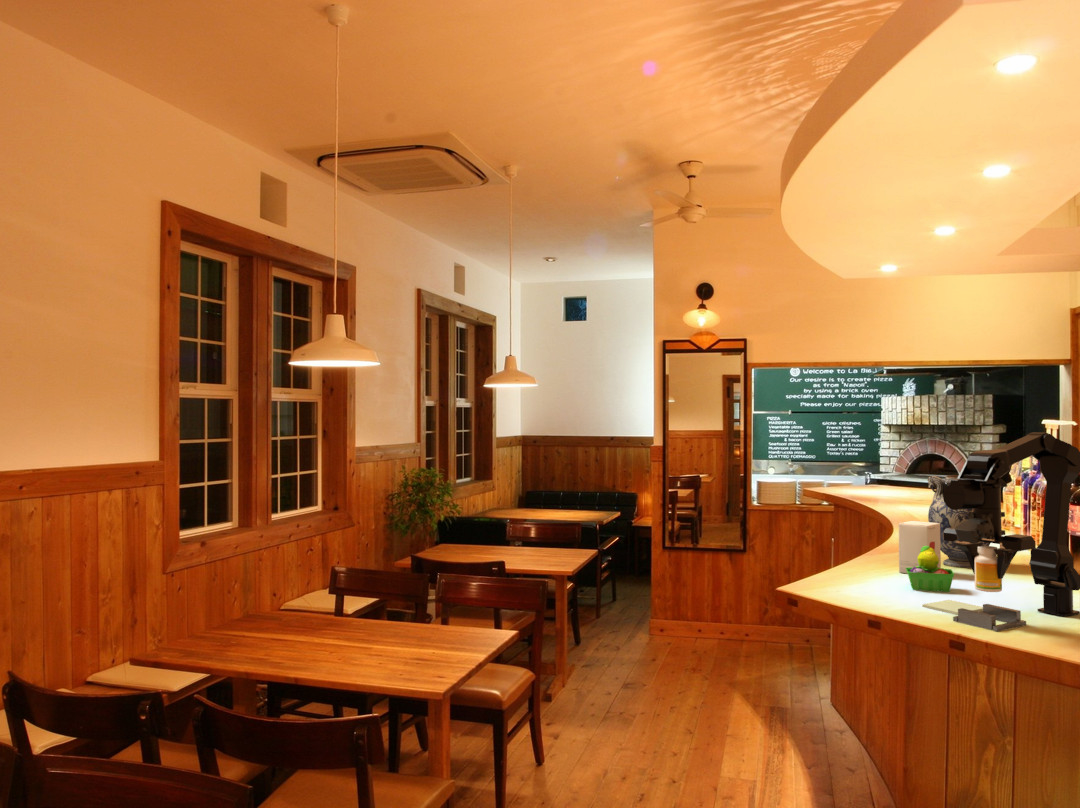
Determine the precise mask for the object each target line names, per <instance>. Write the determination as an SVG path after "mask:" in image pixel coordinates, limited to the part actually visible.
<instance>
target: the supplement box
mask: <svg viewBox="0 0 1080 808" xmlns="http://www.w3.org/2000/svg"><path fill="white" fill-rule="evenodd" d="M923 546H929V547H930V548H932V549H934V551H935V553H936V555H937V556H938V558H939V563H938V565H937V567H938V568H942V567H941V566H942V565H941V561H942V560H941V559H942V558H941V556H942V555H941V553H942V552H941V550H940V523H932V522H929V521H920V520H908V521H904V522H899V523H898V572H899V573H900V574H901V573H902V574H906V575H908V573H907V571H906V568H913V567H916V566H919V564H918V560H917V558H918V555H919V554H920V553H921V552H920V551H921V548H922V547H923Z"/></svg>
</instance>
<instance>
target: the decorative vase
mask: <svg viewBox="0 0 1080 808" xmlns="http://www.w3.org/2000/svg"><path fill="white" fill-rule="evenodd" d="M958 476H959V474H949V475H946V476H945V478H944V479H942V478H940V477H939V476H938V475H932V476H928V478H927V484H928V489H931V490H932V492H934V494H933V496H932V501H931V504H930V505H929V508H928V515H927V519H928V521H927V522H932V523H940V552H941V553H943V554H944V555H945V556H946V557H947V558H946V559H945V560H943V561H942V564H943V565H944V566H947V567H953V568H961V569H972V568H971V565H970V563H969V560H968V558H967V556H966V554H965V552H964V551H963V550H962V549H961V548H960V547H959V546H956V545H955V543H957V540H956V541H955V542H953V541H946V540H943V532H944V530H945V529H946V528H952V527H956V526H958V525H959V524H961V523H962V522H964V521H967V520H968V514H969V512H972V511H973V510H972V509H962V510H952V509H950V508H949V507H947V505H946V504H945V502H944V500H943V493H944V491H945V489H946V488H947V486H949V485H951V479H957V478H958ZM980 543H982V545H981V546H991V543H988V542H981V541H980Z"/></svg>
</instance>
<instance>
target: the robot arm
mask: <svg viewBox="0 0 1080 808" xmlns="http://www.w3.org/2000/svg"><path fill="white" fill-rule="evenodd" d="M1030 457H1032V458H1035V460H1036V461H1038V462H1039V471H1040V472H1041V474H1042V476H1043V478H1044V480H1045V481H1046V482H1045V483H1046V484H1045V485H1046V487H1045V497H1044V499H1045V500H1044V509H1043V510H1044V512H1043V524H1042V534H1041V542H1040V543H1039V545H1038V546H1037V547H1036V541H1035V539H1034V538H1033V536H1032V535H1026V534H1020V533H1019V534H1017V533H1014V534H1008V535H1007V534H1006V530H1005V529H1002V518H1004V517H1006V512H1005V511H1002V494H1001V491H1002V490H1001V489H1002V488H1007V487H1008V483H1006V482H1005V481H1004V480H1003V479H1002V477H1003V476H1005V475H1006V474H1008V472H1010V470H1011V467H1012V466H1013V465H1014V464H1017V463H1019V462H1021V461H1023V460H1025V459H1028V458H1030ZM958 475H959V476H958V478H957V479H951V485H949V486H947V485H946V489H945V491H944V493H943V500H944V502H945V504H946V505H947V507H949V508H950V509H952V510H962V509H972V510H973V511H972V512H969V514H968V520H967V521H964V522H962V523H961V524H959V525H958V526H956V527H952V528H946V529H945V530H944V532H943V540H946V541H953V542H955V541H956V540H957V543H955V545H956V546H959V547H960V548H961V549H962V550H963V551H964V552H965V554H966V556H967V558H968V560H969V563H970V565H971V568H970V569H971V570H972V572H973V573H972V574H973V575H975V566H974V559H975V557H976V556H978V555H979V553H978V551H977V550H978V546H981V545H982V543H980V541H981V542H988V543H990V544H995V545H996V544H997V545H999V547H997V549H994V551H995V553H996V555H997V574H998V579H1002V580H1003V578H1004V576H1005V574H1006V573H1007V570H1008V568H1009V566H1010V565H1011V563H1012V560H1013V559H1014V558H1015V557H1016V554H1017V553H1018V552H1021V551H1029V550H1030V561H1029V563H1028V565H1029V567H1030V572H1031V576H1032V578H1033V581H1034V585H1041V586H1043V587H1042V588H1043V594H1042V599H1043V601H1042V602H1043V607H1040V608H1037V611H1038V612H1042V613H1045V614H1051V615H1055V616H1060V617H1069V616H1074V615H1078V614H1080V610H1075V609H1074V591H1080V574H1079V572H1078V571H1077V570H1076V568H1075V567H1074V566H1075V565H1074V564H1075V563H1074V556H1073V555H1072V553H1071V551H1070V548H1069V547H1068V545H1067V542H1068V528H1069V517H1070V504H1071V503H1070V502H1071V494H1072V493H1071V492H1072V484H1073V483H1074V482H1075V480H1077V478H1078V477H1079V475H1080V450H1079V449H1078V447H1076V446H1073V445H1072V444H1070V443H1068V442H1066V441H1063V440H1061V439H1059V438H1056V437H1055V436H1054V435H1052V434H1051V433H1049V432H1030V433H1027V434H1026V435H1025V436H1023V437H1021V438H1020V437H1019V438H1018V439H1016V440H1013V441H1012V442H1010V443H1006V444H1004V445H1002V446H1000V447H998V448H994V449H983V450H977V451H972V452H970V453H969V454H968V455H967V459H966V460H965V463H964V464H963V466H962V468H961V471H960V472H959V474H958Z"/></svg>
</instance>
